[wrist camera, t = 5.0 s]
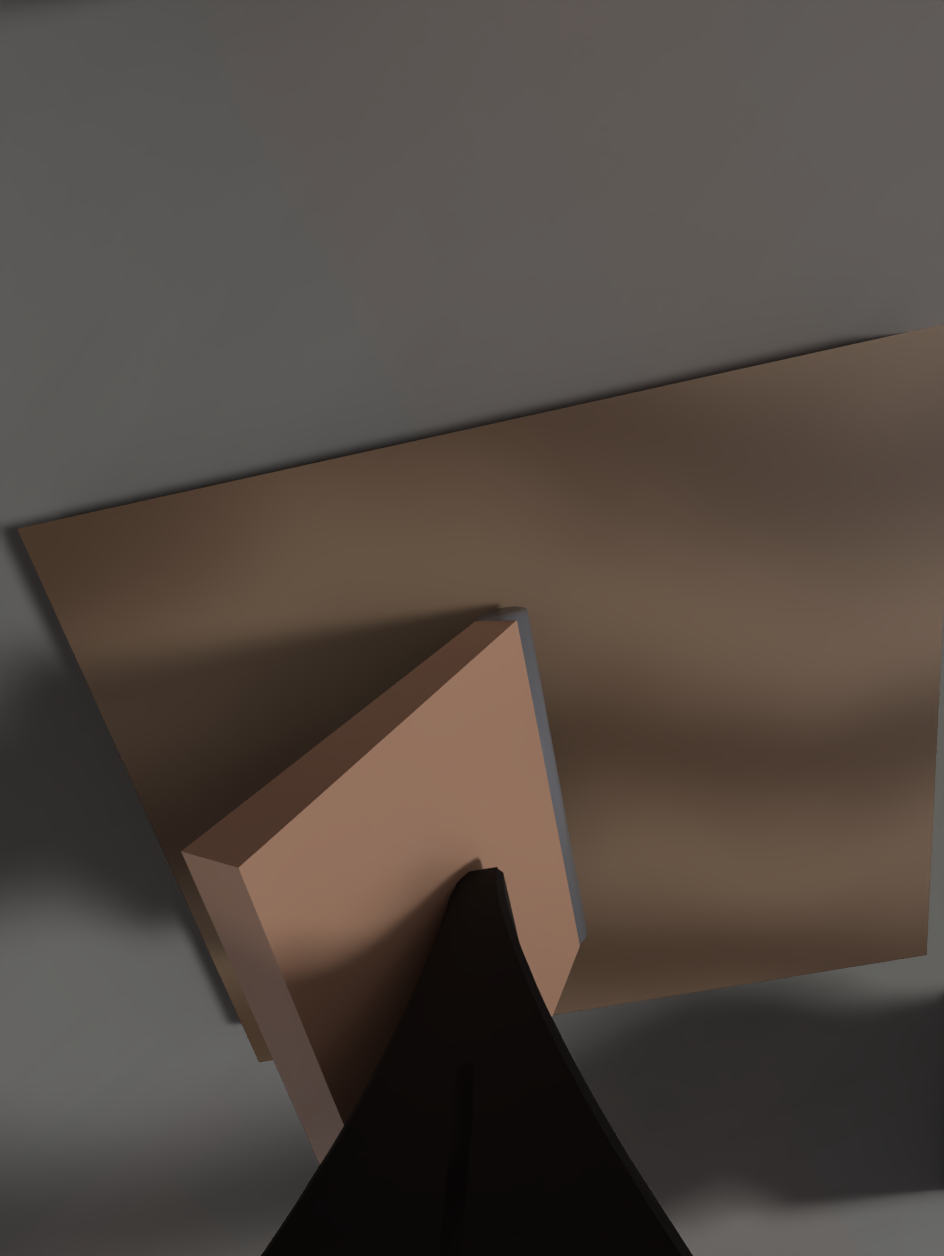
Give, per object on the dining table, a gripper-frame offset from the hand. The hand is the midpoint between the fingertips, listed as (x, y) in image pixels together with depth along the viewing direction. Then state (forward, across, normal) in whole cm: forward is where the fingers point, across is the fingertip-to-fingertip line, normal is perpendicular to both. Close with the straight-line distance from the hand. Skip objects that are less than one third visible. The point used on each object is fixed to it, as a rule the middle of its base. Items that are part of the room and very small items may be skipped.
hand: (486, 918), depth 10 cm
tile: (0, 0, 0) cm, 0 cm away
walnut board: (+5, -1, 0) cm, 5 cm away
